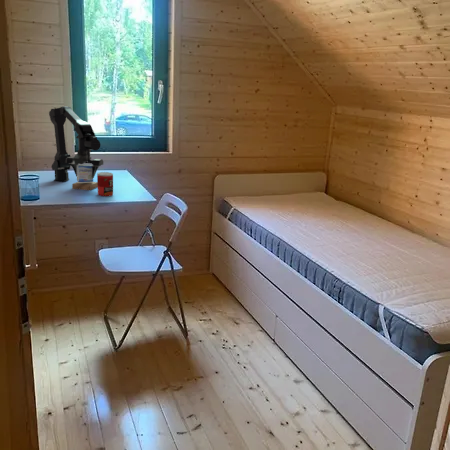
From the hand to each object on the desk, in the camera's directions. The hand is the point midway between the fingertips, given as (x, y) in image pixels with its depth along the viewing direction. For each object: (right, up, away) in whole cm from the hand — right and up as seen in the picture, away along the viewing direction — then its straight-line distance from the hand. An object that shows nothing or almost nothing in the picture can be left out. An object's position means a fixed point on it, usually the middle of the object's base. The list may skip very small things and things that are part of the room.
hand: (85, 177), depth 255 cm
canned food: (+14, -10, -11) cm, 20 cm away
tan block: (0, -6, +2) cm, 6 cm away
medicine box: (0, -2, +1) cm, 2 cm away
